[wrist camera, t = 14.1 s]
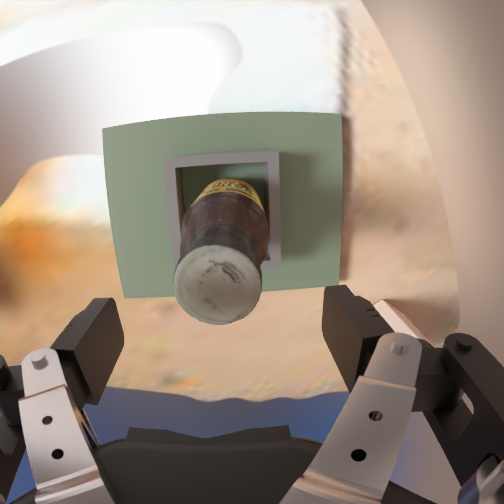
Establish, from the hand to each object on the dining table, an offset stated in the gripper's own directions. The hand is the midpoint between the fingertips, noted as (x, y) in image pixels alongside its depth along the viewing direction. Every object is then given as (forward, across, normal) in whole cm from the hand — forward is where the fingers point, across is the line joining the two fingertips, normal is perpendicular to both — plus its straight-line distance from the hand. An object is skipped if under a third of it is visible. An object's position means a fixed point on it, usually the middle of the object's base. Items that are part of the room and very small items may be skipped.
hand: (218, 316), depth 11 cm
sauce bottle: (+22, 0, 0) cm, 22 cm away
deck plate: (+24, 0, 0) cm, 24 cm away
